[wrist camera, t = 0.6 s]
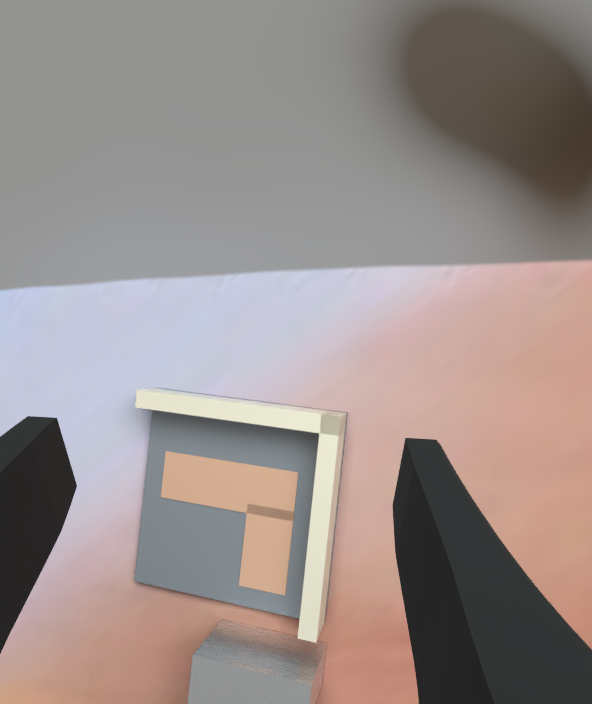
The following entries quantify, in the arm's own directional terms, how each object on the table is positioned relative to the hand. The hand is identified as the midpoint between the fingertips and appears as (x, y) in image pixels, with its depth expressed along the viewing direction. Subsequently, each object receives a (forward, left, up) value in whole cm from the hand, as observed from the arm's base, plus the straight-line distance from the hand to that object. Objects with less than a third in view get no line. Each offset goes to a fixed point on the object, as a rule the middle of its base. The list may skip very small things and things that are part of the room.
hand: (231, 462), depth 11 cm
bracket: (-21, +5, -26) cm, 34 cm away
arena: (-8, +8, -26) cm, 28 cm away
